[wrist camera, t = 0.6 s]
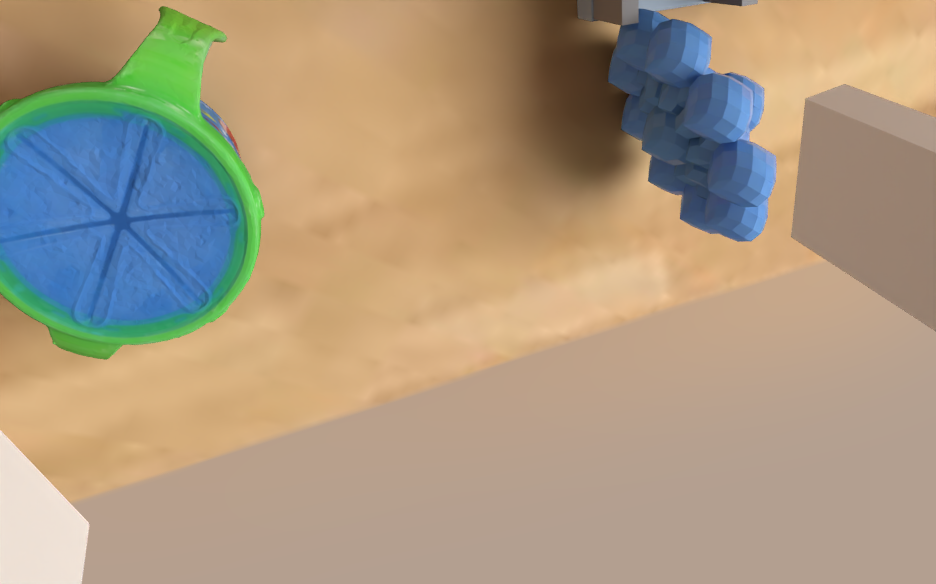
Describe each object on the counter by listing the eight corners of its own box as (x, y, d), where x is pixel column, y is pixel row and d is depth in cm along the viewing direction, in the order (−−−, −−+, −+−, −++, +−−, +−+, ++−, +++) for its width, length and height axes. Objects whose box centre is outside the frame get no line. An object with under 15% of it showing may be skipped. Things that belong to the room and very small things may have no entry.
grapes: (723, 160, 42) (865, 230, 31) (624, 209, 42) (733, 296, 31) (678, -32, 36) (833, -26, 25) (563, 25, 36) (671, 54, 25)
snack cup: (201, 319, 39) (171, 427, 30) (-2, 240, 35) (-107, 339, 26) (328, 75, 35) (337, 117, 26) (114, -49, 30) (36, -50, 21)
